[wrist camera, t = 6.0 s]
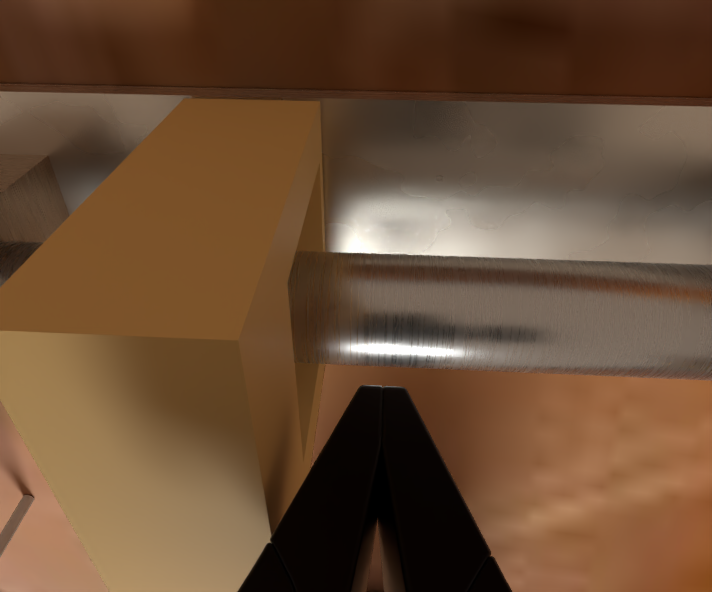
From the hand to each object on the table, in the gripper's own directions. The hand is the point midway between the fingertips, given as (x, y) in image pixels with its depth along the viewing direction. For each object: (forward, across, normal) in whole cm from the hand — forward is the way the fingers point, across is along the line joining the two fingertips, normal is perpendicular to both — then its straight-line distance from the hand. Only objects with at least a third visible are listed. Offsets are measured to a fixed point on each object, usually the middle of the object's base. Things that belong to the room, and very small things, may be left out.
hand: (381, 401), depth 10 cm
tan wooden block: (+6, +3, 0) cm, 7 cm away
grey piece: (+6, -1, 0) cm, 6 cm away
